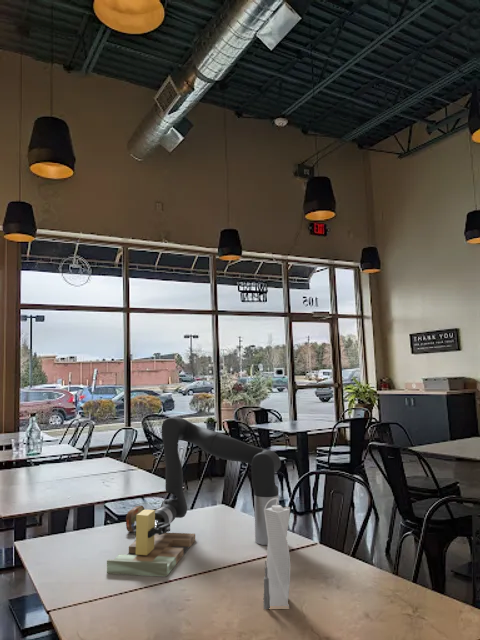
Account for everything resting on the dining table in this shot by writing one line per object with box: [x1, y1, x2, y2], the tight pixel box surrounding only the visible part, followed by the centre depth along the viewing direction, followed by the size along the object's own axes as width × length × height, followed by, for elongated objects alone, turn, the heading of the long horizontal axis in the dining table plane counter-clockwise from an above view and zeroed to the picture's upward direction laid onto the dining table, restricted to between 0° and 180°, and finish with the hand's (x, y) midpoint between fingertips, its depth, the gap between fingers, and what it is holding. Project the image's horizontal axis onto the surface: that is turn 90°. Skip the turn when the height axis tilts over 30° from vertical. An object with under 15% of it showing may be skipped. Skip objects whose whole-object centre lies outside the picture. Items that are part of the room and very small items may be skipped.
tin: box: [125, 505, 145, 533], centre depth 216 cm, size 15×3×8 cm, turn 168°
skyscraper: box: [263, 497, 291, 610], centre depth 146 cm, size 8×8×28 cm
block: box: [135, 508, 156, 555], centre depth 180 cm, size 7×4×13 cm, turn 169°
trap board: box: [106, 532, 196, 578], centre depth 184 cm, size 35×20×4 cm, turn 170°
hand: (142, 534), depth 177 cm, fingers closed on block, 4 cm apart
